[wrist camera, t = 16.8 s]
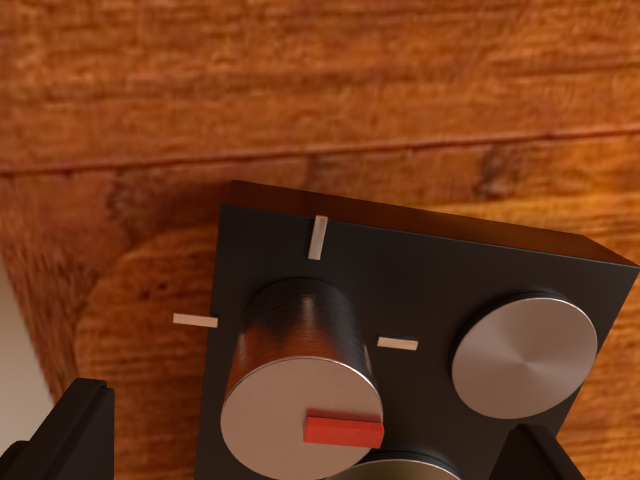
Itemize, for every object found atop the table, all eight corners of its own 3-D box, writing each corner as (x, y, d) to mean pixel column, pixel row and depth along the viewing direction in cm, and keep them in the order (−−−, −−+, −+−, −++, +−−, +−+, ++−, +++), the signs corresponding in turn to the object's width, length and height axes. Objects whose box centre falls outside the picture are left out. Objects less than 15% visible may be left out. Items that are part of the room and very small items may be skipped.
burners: (275, 575, 19) (274, 588, 18) (343, 264, 13) (345, 271, 13) (474, 583, 20) (478, 596, 19) (614, 301, 14) (625, 309, 14)
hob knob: (233, 372, 14) (211, 487, 10) (246, 269, 13) (226, 356, 9) (345, 384, 15) (366, 497, 11) (370, 285, 13) (404, 375, 9)
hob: (175, 518, 21) (156, 589, 18) (202, 171, 15) (180, 195, 12) (453, 533, 23) (477, 600, 20) (585, 233, 17) (648, 266, 14)
